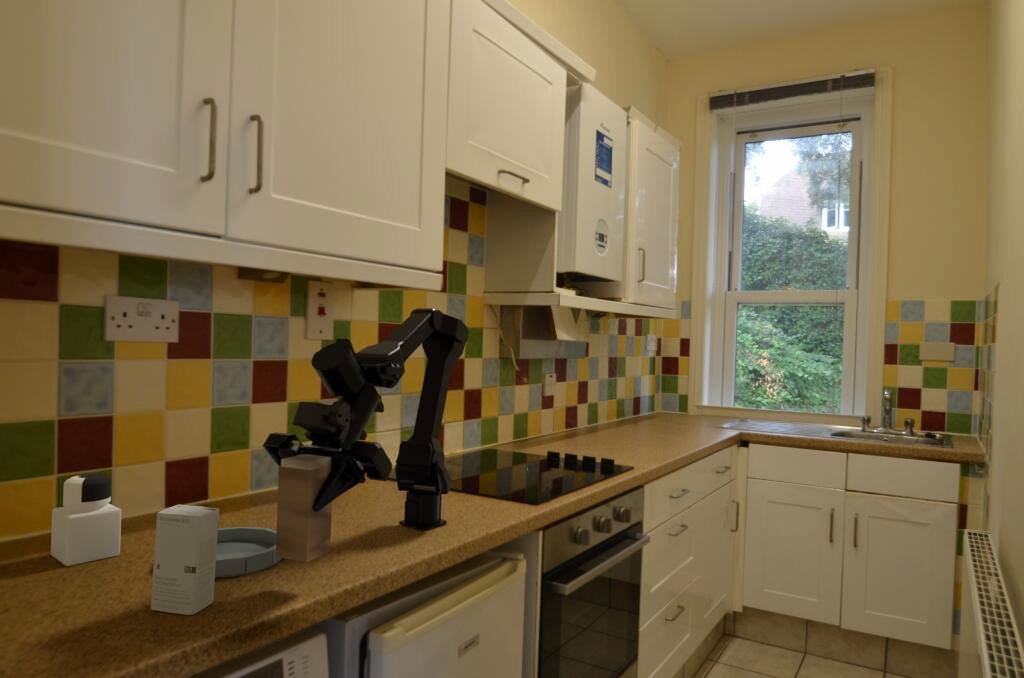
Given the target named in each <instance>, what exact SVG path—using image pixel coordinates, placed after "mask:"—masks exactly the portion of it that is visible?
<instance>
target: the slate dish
mask: <svg viewBox="0 0 1024 678" xmlns="http://www.w3.org/2000/svg"><path fill="white" fill-rule="evenodd" d="M276 536H277V530H274V529H271V528H269V527H256V526H255V527H254V526H234V527H232V526H231V527H223V528H222V527H220V528H218V536H217V551H216V567H215V579H218V578H230V577H238V576H244V575H248V574H253V573H257V572H260V571H263V570H266V569H268V568H271V567H273V566H275V565H278V563H280V562H281V561H282V560H283V559H284V558H280V557H276Z"/></svg>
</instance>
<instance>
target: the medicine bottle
mask: <svg viewBox="0 0 1024 678" xmlns="http://www.w3.org/2000/svg"><path fill="white" fill-rule="evenodd" d="M62 495H63V496H62V497H63V499H62V506H61V507H55V508H53V509H52V511H51V533H50V534H51V535H50V536H51V537H50V538H51V539H50V555H51V556H52V557H53V558H55V559H56V560H57V561H59V562H60V563H62V565H64V566H66V567H70V566H75V565H80V564H85V563H90V562H94V561H98V560H103V559H108V558H114V557H117V556H120V554H121V533H122V532H121V531H122V530H121V529H122V509H121V508H119V507H117V506H115V505H113V504H111V503H110V502H111V501H112V500H111V499H112V478H111V477H110V476H109V475H105V474H102V473H101V474H100V473H88V474H87V473H86V474H78V475H75V476H72V477H70V478H67V479H66V480H65V481H64V482H63V494H62Z"/></svg>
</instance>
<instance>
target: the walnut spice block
mask: <svg viewBox="0 0 1024 678" xmlns="http://www.w3.org/2000/svg"><path fill="white" fill-rule="evenodd" d="M330 470H331V457H327V456H318V455H309V454H301V455H297V456H293V457H288V458H284V459H281V466H280V467H279V466H278V474H277V475H278V477H277V505H276V507H277V509H276V511H277V512H276V513H277V515H276V531H277V536H276V557H280V558H283V559H288V560H292V561H297V562H303V563H309V562H310V561H312V560H315V559H316V558H318V557H321V556H323V555H325V554H327V553H329V552H331V542H332V541H331V539H332V538H331V537H332V534H331V533H332V511H333V510H332V508H333V507H332V504H333V501H332V502H330V503H329V504H328V505H326V506H325V507H324V508H322V509H321V510H320V511H318V512H315V511H314V510H313V508H312V507H313V504H314V502H315V499H316V497H317V495H318V493H319V491H320V489H321V487H322V486H323V484H324V482H325V480H326V478H327V476H328V474H329V472H330Z"/></svg>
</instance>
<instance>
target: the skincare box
mask: <svg viewBox="0 0 1024 678" xmlns="http://www.w3.org/2000/svg"><path fill="white" fill-rule="evenodd" d="M219 517H220V509H219V508H218V507H216V508H215V507H209V506H208V507H206V506H201V505H185V504H176V505H174V506H171V507H168V508H165V509H163V510H161V511H158V512H157V513H156V521H155V522H156V523H155V524H156V525H155V539H154V553H153V556H154V557H153V567H152V568H153V569H152V582H151V584H152V585H151V598H150V600H151V601H150V609H151V611H157V612H164V613H169V614H170V613H171V614H179V615H184V616H185V615H186V616H191V615H192V616H193V615H195V614H197V613H199V612H200V611H202V610H204V609H206V608H207V607H208V606H210V605H211V604H212V603H213V602H214V596H215V595H214V594H215V581H216V578H215V567H216V551H217V536H218V529H219V520H220V518H219Z"/></svg>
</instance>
